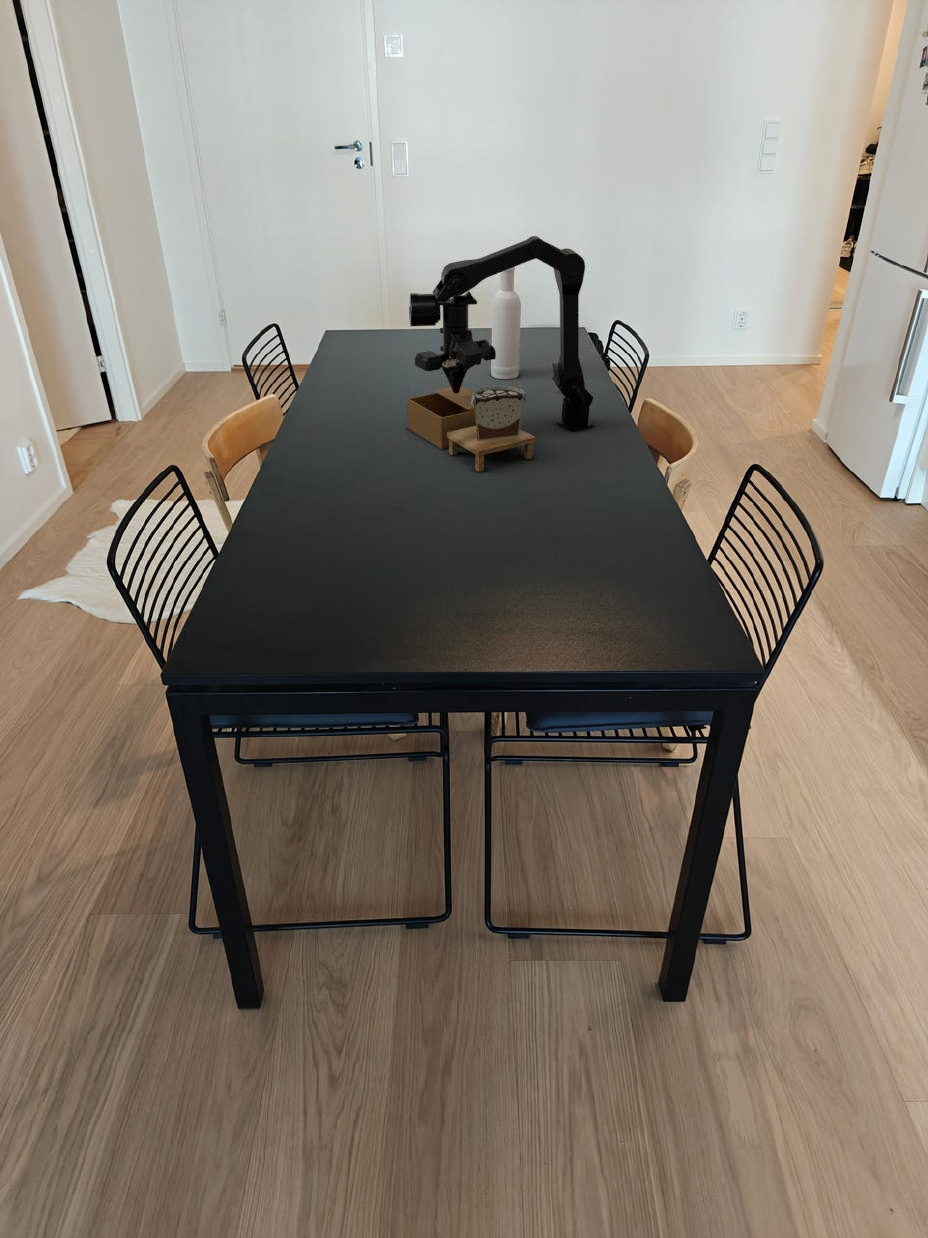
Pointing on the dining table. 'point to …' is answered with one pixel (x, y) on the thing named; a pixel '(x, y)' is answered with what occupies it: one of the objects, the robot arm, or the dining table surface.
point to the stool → (487, 444)
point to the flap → (458, 396)
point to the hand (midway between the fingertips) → (455, 393)
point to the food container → (498, 411)
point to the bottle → (506, 328)
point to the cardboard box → (437, 418)
